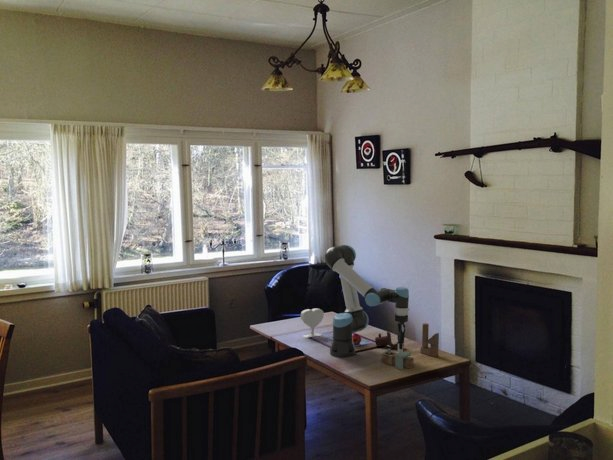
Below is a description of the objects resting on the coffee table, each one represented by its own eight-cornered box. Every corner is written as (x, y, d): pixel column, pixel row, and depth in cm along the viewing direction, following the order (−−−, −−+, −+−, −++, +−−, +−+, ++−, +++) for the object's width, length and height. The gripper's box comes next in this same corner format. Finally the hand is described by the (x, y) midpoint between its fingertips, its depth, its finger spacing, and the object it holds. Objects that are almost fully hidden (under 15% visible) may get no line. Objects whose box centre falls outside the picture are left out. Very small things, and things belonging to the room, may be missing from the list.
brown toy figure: (402, 346, 330) (401, 330, 333) (376, 349, 336) (374, 333, 339) (405, 347, 335) (403, 331, 339) (378, 350, 341) (376, 334, 344)
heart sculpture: (320, 333, 368) (320, 307, 366) (324, 335, 363) (324, 308, 362) (300, 336, 361) (300, 309, 360) (303, 338, 357) (303, 311, 355)
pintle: (387, 361, 310) (387, 349, 310) (387, 360, 312) (387, 348, 312) (391, 361, 310) (391, 349, 310) (390, 360, 312) (390, 348, 312)
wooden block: (434, 357, 318) (435, 327, 316) (420, 352, 326) (420, 323, 325) (438, 356, 320) (439, 326, 319) (424, 351, 329) (424, 322, 327)
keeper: (395, 367, 301) (395, 354, 300) (405, 364, 305) (405, 351, 304) (400, 369, 297) (401, 356, 297) (410, 366, 302) (410, 353, 301)
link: (381, 362, 310) (381, 353, 309) (387, 359, 315) (387, 350, 314) (408, 369, 298) (408, 360, 297) (414, 366, 303) (415, 357, 303)
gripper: (410, 317, 306) (408, 357, 308) (406, 311, 319) (404, 350, 321) (396, 317, 306) (395, 357, 308) (393, 311, 319) (392, 350, 321)
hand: (400, 353), depth 315 cm, fingers closed
